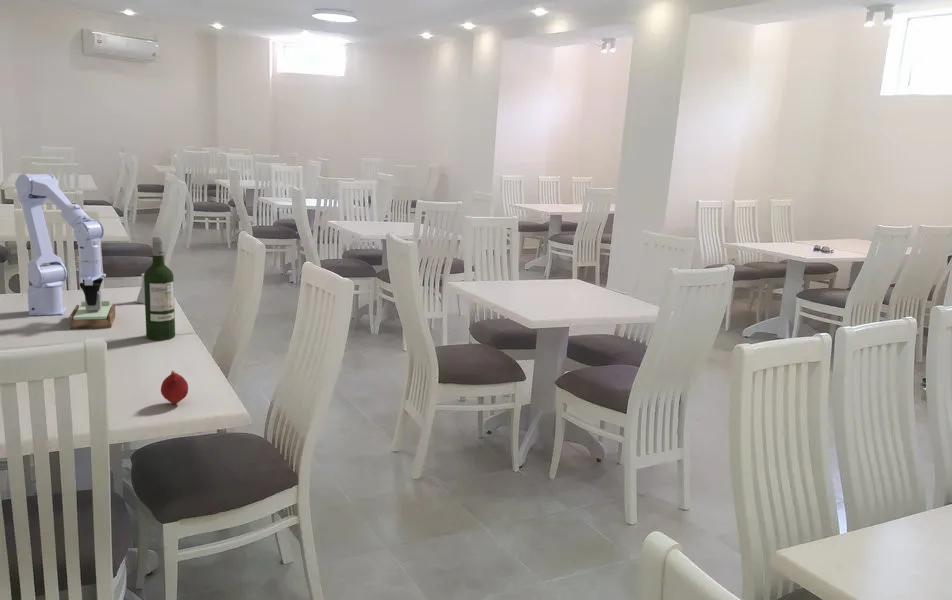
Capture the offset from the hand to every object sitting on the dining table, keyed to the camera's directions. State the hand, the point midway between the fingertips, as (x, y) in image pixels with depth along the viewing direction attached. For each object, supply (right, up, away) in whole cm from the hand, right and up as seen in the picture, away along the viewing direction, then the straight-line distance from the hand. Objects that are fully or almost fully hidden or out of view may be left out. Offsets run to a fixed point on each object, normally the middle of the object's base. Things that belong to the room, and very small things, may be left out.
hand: (92, 303), depth 228 cm
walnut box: (0, -6, +1) cm, 6 cm away
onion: (+50, -23, -60) cm, 81 cm away
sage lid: (0, -3, +1) cm, 3 cm away
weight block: (0, -1, 0) cm, 2 cm away
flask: (+4, 0, +30) cm, 30 cm away
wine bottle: (+25, -10, -10) cm, 29 cm away
